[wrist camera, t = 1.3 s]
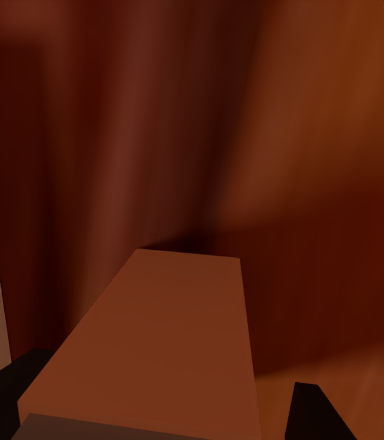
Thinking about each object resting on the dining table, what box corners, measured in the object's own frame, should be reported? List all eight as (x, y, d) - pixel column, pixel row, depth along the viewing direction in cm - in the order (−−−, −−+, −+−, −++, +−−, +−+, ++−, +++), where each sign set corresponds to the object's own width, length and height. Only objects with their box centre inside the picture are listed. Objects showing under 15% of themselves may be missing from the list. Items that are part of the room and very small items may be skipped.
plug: (225, 383, 13) (227, 703, 6) (136, 372, 13) (29, 658, 6) (239, 257, 11) (266, 480, 4) (137, 248, 12) (-11, 436, 4)
